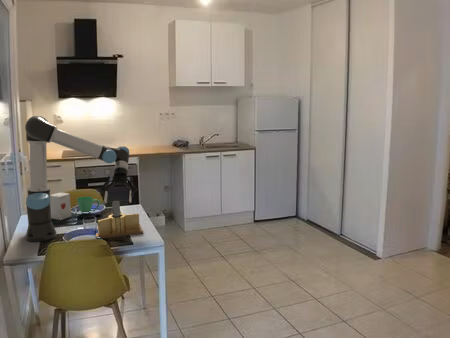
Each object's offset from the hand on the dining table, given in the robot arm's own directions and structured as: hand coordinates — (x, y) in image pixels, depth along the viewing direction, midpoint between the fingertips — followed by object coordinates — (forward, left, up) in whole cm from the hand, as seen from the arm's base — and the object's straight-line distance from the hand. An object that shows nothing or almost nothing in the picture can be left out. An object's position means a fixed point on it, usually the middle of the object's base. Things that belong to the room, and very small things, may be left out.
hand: (117, 201), depth 234 cm
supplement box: (-32, +40, -17) cm, 54 cm away
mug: (-15, +43, -17) cm, 48 cm away
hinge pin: (-1, -1, -16) cm, 16 cm away
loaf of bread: (-1, -1, -17) cm, 17 cm away
